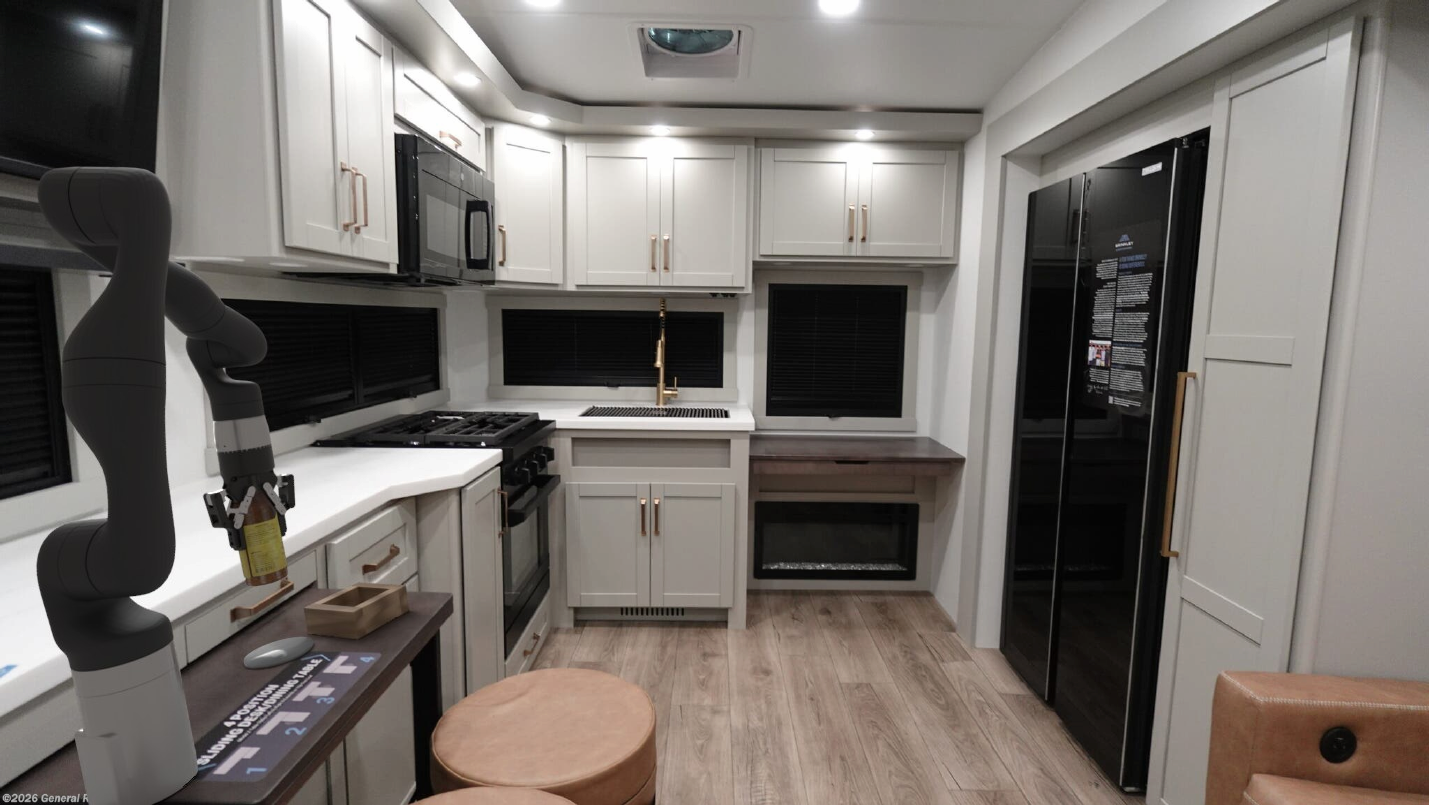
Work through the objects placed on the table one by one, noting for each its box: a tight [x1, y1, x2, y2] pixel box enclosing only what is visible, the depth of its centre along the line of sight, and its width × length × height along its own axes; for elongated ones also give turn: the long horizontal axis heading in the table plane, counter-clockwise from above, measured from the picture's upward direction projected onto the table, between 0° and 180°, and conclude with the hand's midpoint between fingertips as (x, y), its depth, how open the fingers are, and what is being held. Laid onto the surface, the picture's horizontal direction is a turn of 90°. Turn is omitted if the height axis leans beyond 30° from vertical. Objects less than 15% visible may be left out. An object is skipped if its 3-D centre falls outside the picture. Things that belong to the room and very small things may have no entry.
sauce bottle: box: [233, 474, 289, 587], centre depth 112 cm, size 6×6×20 cm
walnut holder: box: [303, 582, 410, 640], centre depth 125 cm, size 12×12×5 cm
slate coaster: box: [243, 636, 314, 670], centre depth 115 cm, size 10×10×1 cm
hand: (260, 542), depth 112 cm, fingers closed on sauce bottle, 6 cm apart
